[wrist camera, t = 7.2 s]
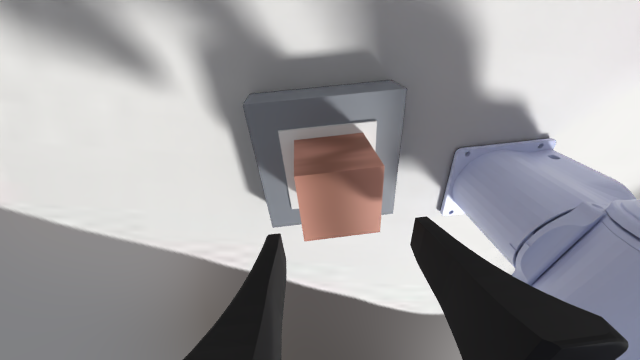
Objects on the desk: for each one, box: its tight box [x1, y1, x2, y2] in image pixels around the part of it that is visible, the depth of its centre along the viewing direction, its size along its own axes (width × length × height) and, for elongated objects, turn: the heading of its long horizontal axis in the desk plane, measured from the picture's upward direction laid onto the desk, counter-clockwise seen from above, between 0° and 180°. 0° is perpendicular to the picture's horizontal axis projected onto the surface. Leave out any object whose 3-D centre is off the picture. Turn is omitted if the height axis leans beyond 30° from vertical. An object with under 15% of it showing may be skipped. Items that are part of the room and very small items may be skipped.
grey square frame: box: [243, 80, 407, 228], centre depth 20 cm, size 11×11×3 cm
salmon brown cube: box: [294, 133, 385, 241], centre depth 17 cm, size 5×5×5 cm
